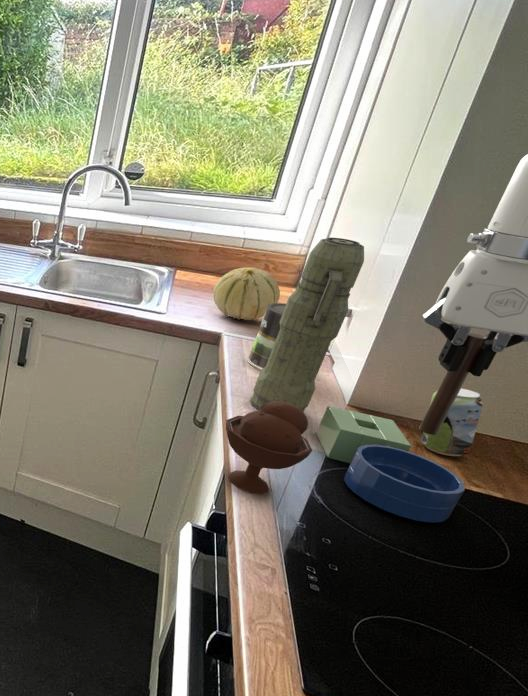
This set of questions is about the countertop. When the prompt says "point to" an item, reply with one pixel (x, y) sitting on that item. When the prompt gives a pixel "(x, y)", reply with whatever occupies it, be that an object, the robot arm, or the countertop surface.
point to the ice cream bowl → (267, 442)
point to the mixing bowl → (404, 483)
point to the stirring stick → (451, 386)
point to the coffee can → (266, 335)
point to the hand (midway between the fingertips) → (459, 369)
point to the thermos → (310, 323)
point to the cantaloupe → (246, 293)
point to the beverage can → (457, 426)
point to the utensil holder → (356, 433)
